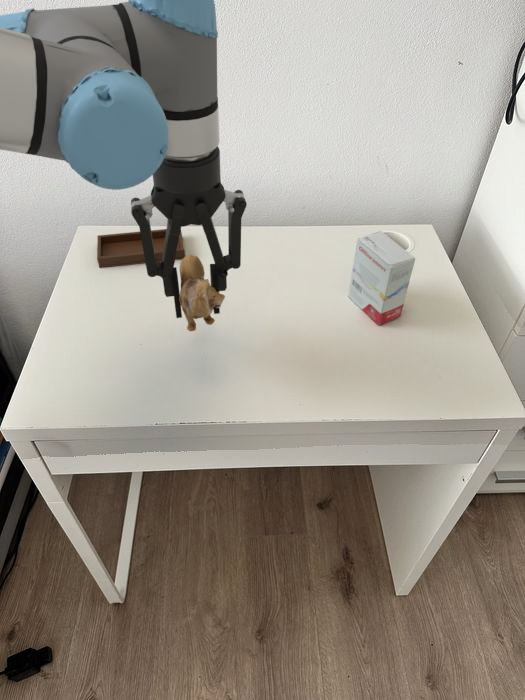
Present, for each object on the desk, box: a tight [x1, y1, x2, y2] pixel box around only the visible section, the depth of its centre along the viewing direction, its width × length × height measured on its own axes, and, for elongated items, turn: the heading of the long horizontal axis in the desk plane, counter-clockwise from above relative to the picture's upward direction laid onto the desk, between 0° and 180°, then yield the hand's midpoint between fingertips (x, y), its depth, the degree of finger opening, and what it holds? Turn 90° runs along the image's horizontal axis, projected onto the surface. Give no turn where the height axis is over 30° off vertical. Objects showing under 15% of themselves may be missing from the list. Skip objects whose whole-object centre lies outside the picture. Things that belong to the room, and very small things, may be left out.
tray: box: [96, 228, 186, 269], centre depth 97 cm, size 15×7×2 cm, turn 101°
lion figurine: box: [178, 254, 226, 332], centre depth 71 cm, size 15×5×9 cm, turn 20°
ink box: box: [347, 230, 416, 326], centre depth 84 cm, size 9×5×12 cm, turn 29°
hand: (197, 309), depth 74 cm, fingers closed on lion figurine, 4 cm apart
